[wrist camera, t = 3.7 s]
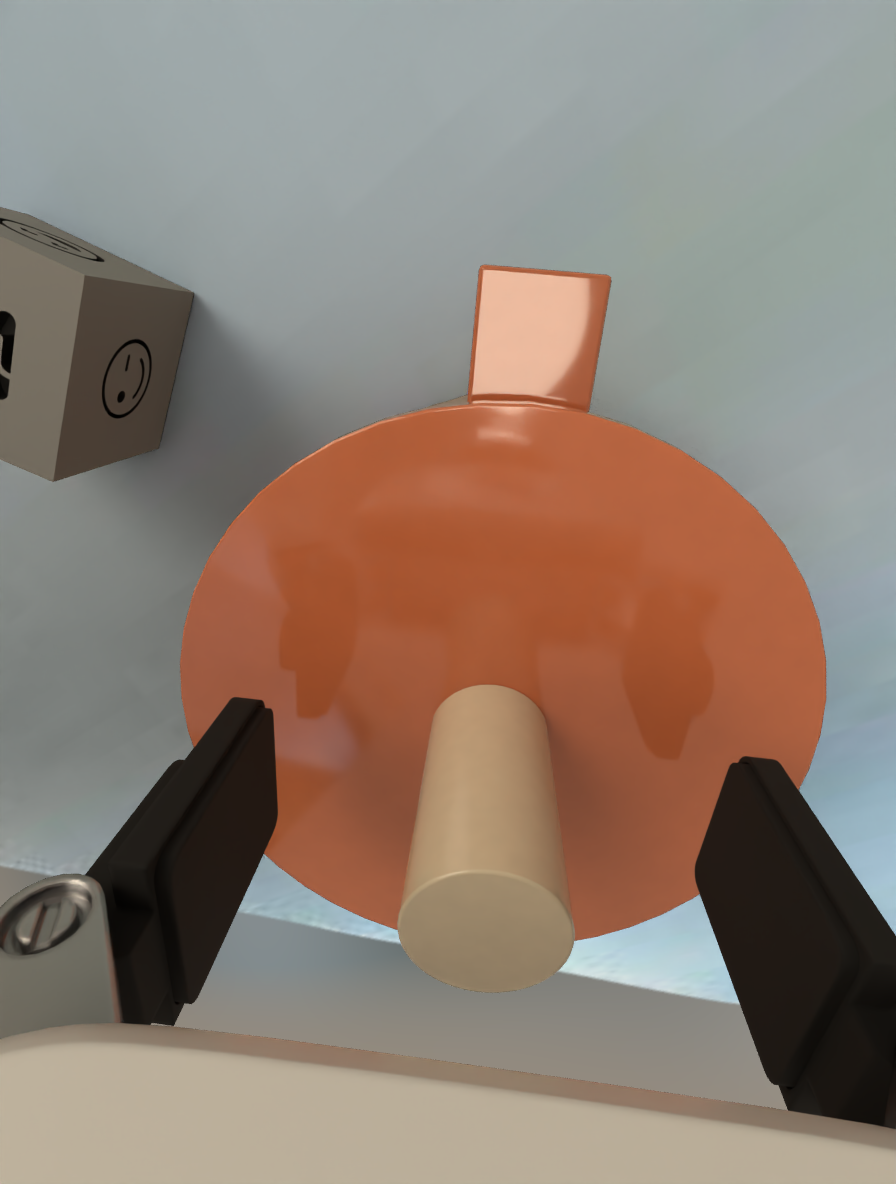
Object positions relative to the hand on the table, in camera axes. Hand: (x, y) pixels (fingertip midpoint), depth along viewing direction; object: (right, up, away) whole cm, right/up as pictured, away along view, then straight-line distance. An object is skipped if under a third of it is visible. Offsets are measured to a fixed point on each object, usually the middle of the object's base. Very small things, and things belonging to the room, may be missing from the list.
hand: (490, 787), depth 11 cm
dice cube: (-12, +12, +7) cm, 18 cm away
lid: (0, +1, +2) cm, 2 cm away
